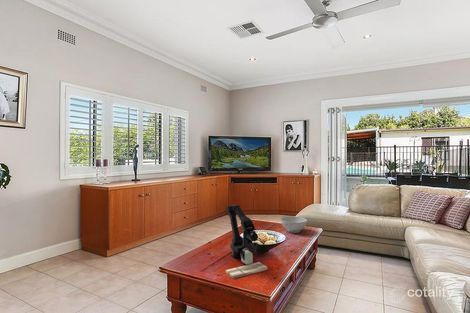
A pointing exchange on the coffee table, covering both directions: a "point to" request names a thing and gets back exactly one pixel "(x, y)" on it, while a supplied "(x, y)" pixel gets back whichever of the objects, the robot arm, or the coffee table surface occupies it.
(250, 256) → the block
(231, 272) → the birch board
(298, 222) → the decorative bowl
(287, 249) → the coffee table surface
